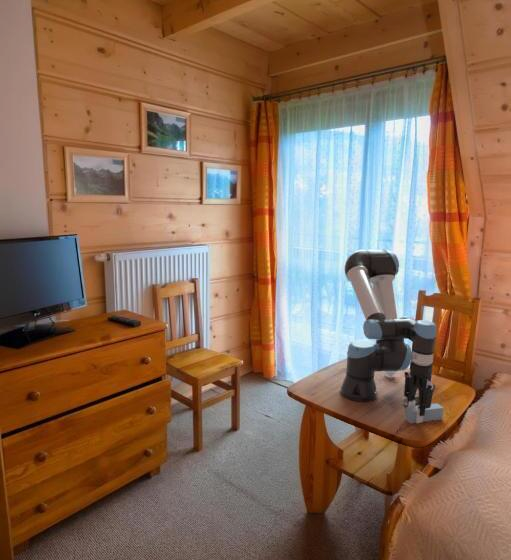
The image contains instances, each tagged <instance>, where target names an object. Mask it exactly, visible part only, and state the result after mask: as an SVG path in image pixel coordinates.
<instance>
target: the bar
mask: <svg viewBox="0 0 511 560" xmlns="http://www.w3.org/2000/svg"><path fill="white" fill-rule="evenodd" d="M417 407H418V406H410V407H405V416H404V419H405V418H406V419H407V420H408V421H409V422H410V423H411V424H413V423H412V422H416V414H417ZM443 415H444V407H443V406H442V405H440V404H439V403H431V407H430V408H427V409H425V415H424V416H423V421H426V422H432V421H431V420H434V421H441V420H443ZM406 419H405V420H406ZM407 420H406V421H407ZM408 421H407V422H408ZM409 422H408V423H409ZM410 423H409V424H410Z"/></svg>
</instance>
